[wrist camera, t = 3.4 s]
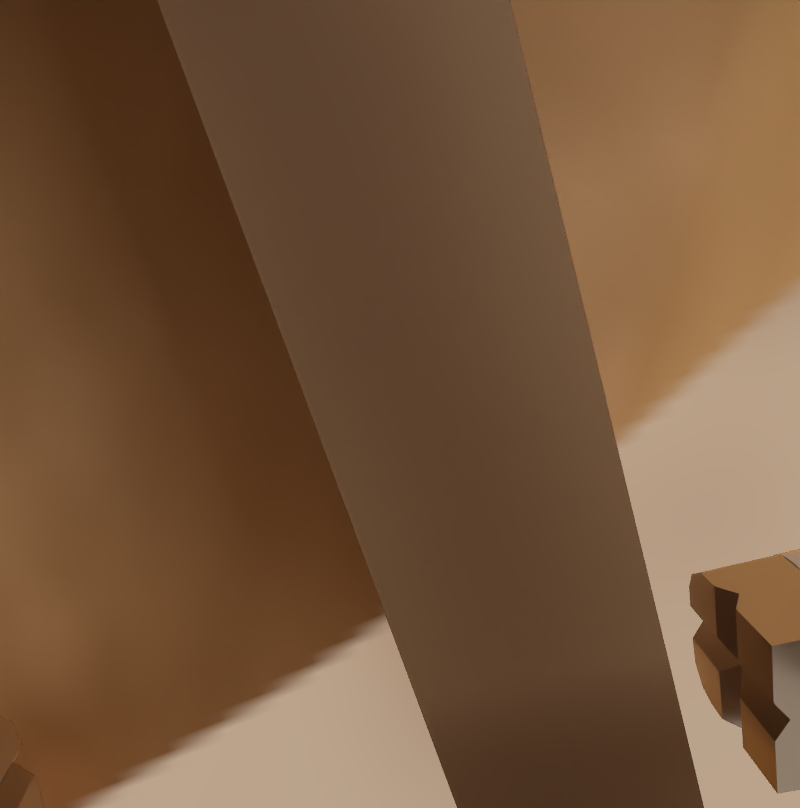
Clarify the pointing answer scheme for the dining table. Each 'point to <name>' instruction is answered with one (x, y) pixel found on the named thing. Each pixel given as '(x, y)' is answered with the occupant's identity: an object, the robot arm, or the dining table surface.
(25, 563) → the dining table surface
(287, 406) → the dining table surface
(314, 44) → the wooden l-shaped bracket
